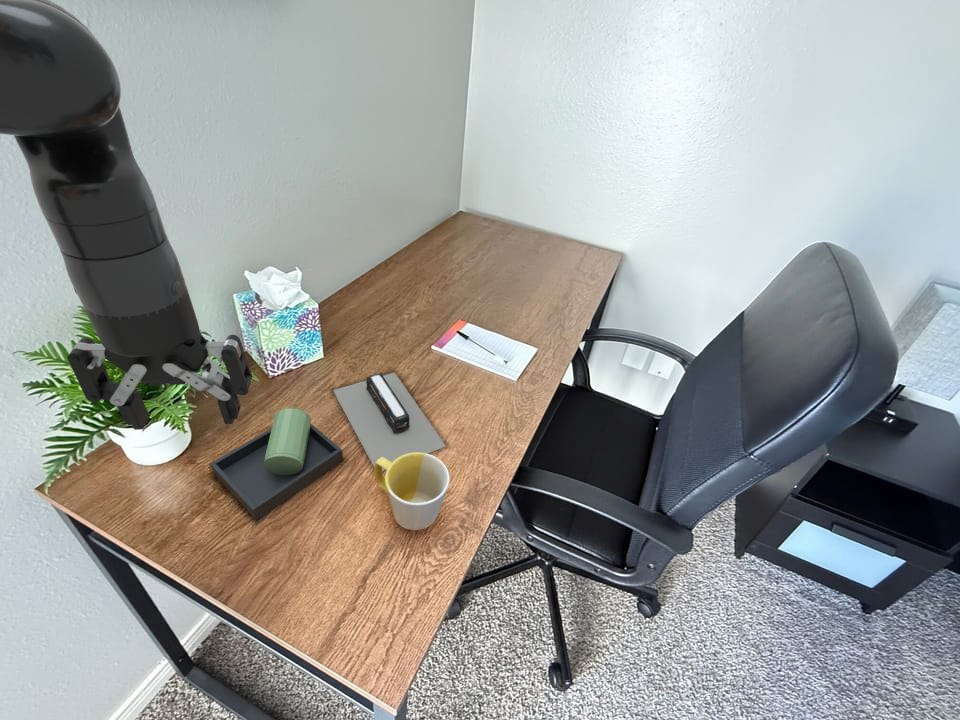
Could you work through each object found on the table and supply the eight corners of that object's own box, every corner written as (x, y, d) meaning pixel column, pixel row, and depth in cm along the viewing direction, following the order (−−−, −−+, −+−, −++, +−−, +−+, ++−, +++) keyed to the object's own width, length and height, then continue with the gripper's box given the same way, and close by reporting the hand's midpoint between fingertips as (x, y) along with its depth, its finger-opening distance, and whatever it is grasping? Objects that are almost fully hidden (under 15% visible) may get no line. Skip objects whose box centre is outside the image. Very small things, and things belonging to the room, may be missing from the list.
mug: (457, 516, 81) (463, 479, 74) (411, 554, 74) (413, 517, 68) (407, 468, 87) (408, 430, 81) (361, 499, 81) (358, 460, 75)
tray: (256, 521, 76) (252, 510, 74) (213, 474, 82) (209, 463, 80) (343, 460, 87) (342, 449, 85) (300, 423, 93) (298, 412, 91)
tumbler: (288, 452, 77) (298, 404, 84) (255, 461, 78) (267, 413, 85) (310, 469, 82) (317, 423, 89) (278, 478, 83) (288, 431, 90)
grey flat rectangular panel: (394, 372, 108) (394, 358, 106) (445, 446, 93) (447, 431, 90) (333, 390, 101) (331, 375, 99) (377, 473, 86) (376, 458, 83)
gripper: (234, 269, 44) (264, 394, 54) (59, 267, 41) (125, 400, 51) (215, 312, 38) (253, 443, 48) (10, 314, 35) (95, 453, 45)
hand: (187, 421), depth 50 cm, fingers open, 8 cm apart
